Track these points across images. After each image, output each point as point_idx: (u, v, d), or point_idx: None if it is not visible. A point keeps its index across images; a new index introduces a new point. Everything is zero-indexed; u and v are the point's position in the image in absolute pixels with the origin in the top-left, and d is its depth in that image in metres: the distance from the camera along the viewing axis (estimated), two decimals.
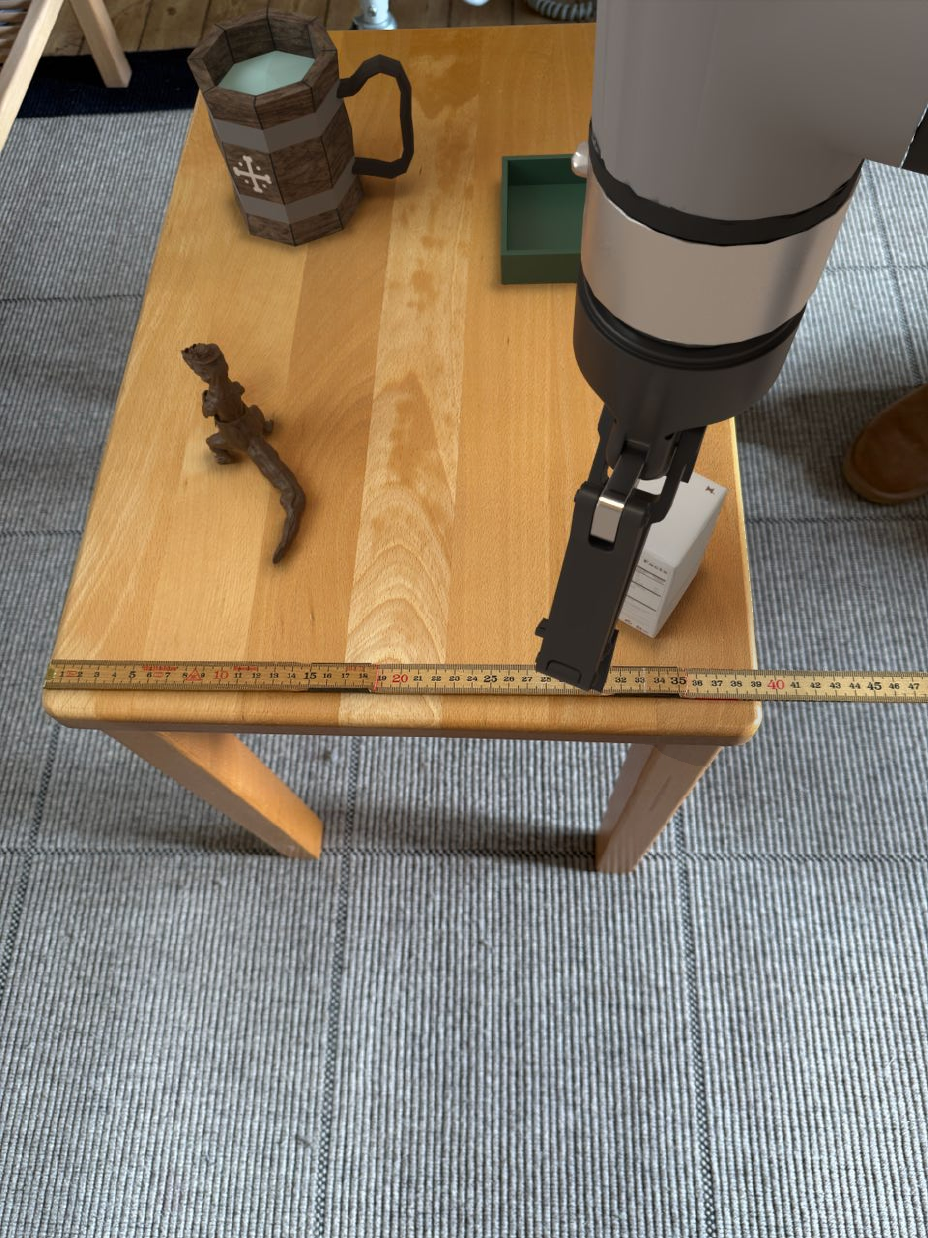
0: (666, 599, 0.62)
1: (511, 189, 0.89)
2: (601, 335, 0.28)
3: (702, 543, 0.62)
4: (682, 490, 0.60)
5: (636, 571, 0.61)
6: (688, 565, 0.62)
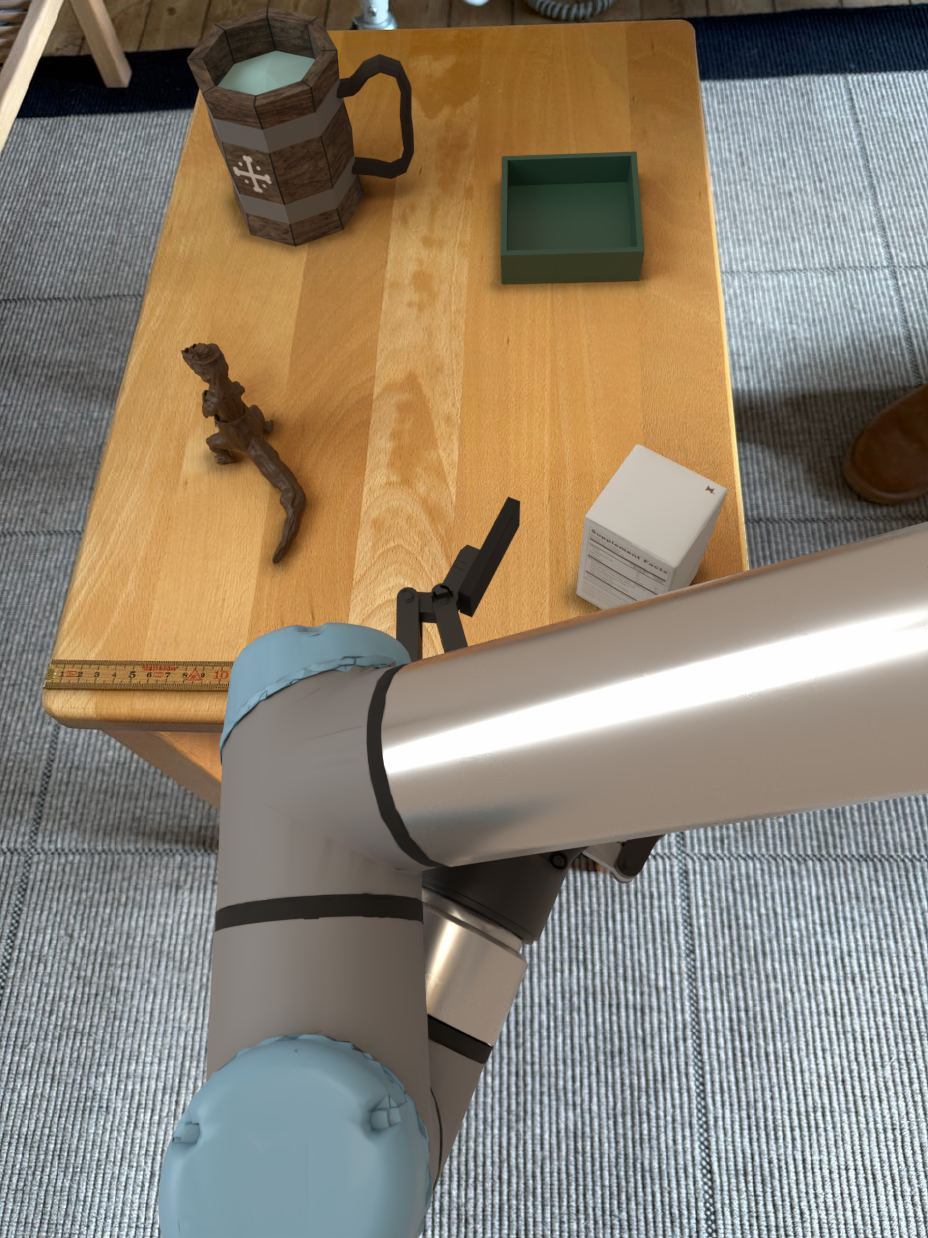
0: None
1: (511, 189, 0.89)
2: None
3: (702, 543, 0.62)
4: (682, 490, 0.60)
5: (636, 571, 0.61)
6: (688, 565, 0.62)
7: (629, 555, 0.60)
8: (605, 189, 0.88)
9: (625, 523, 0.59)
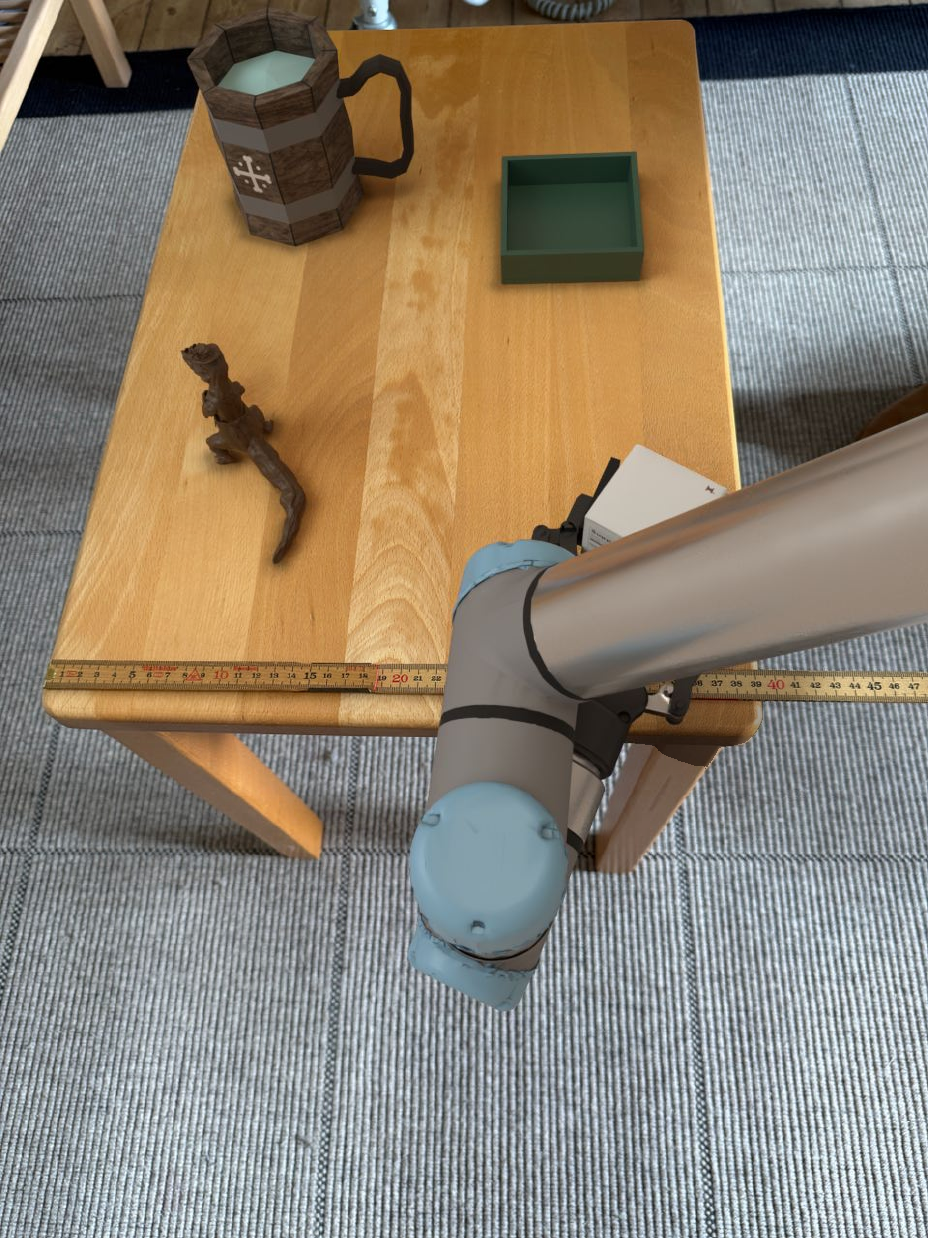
0: None
1: (511, 189, 0.89)
2: None
3: None
4: (682, 489, 0.60)
5: None
6: None
7: None
8: (605, 189, 0.88)
9: (626, 523, 0.59)
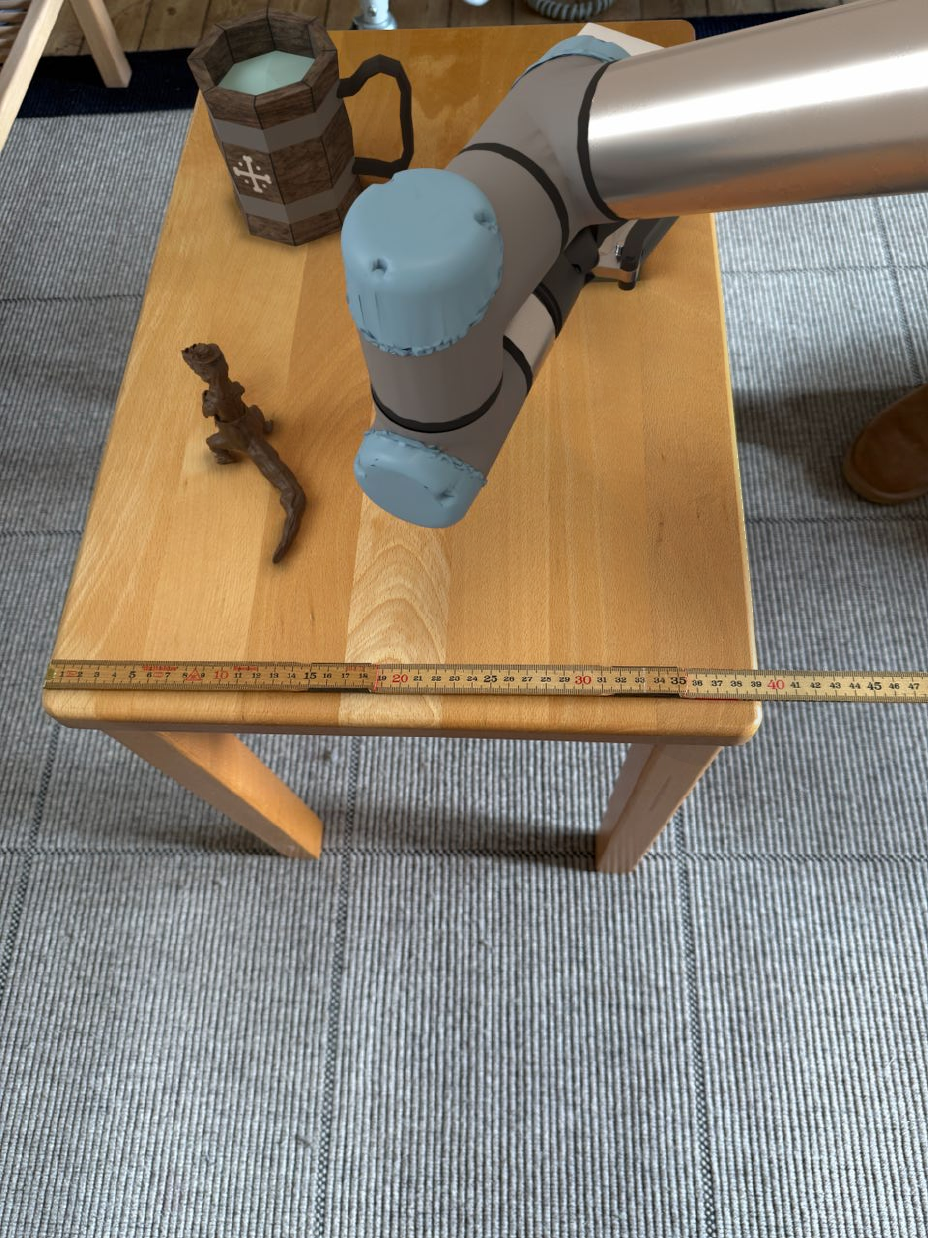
0: None
1: None
2: None
3: None
4: (633, 54, 0.59)
5: None
6: None
7: None
8: None
9: None
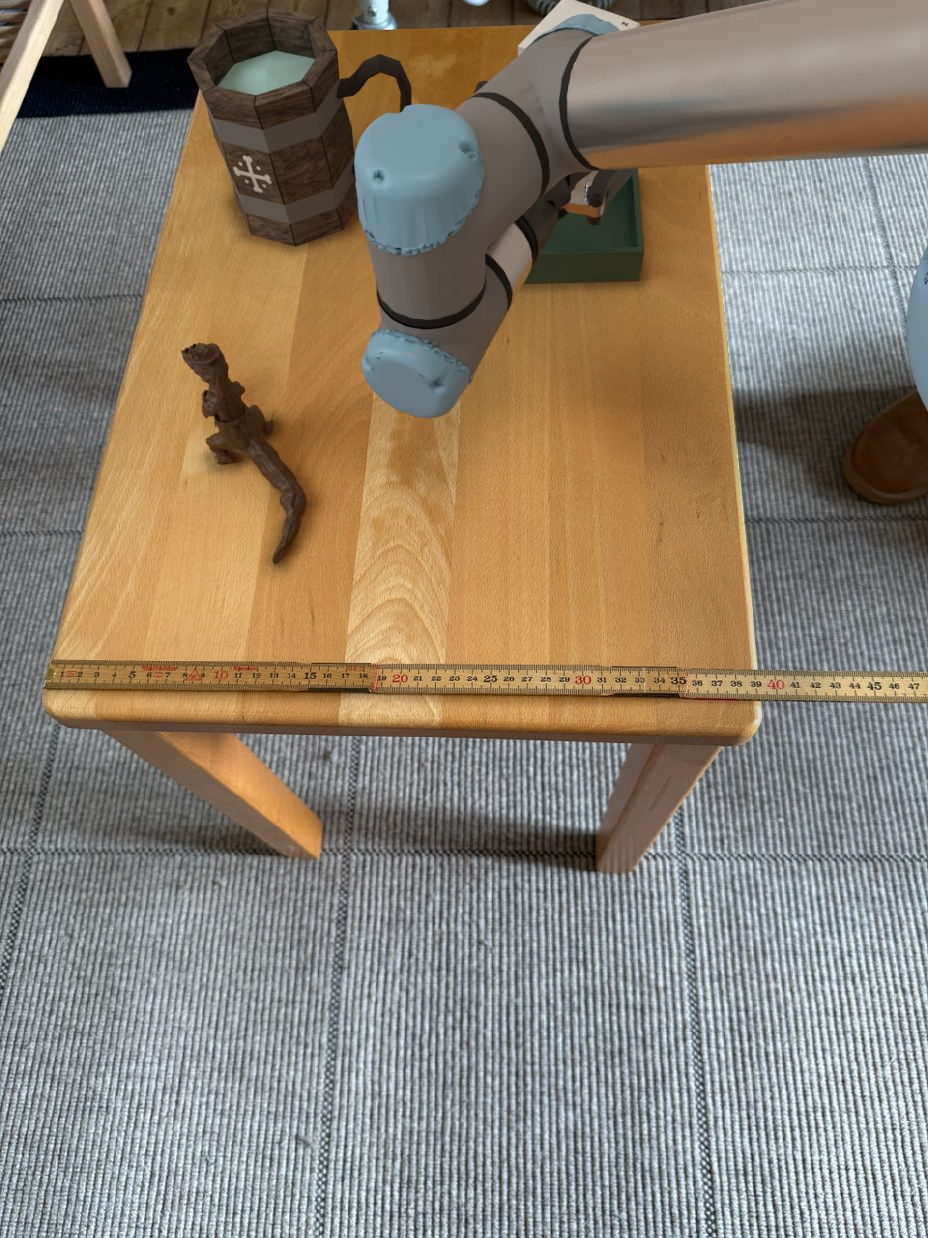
0: None
1: None
2: (531, 266, 0.69)
3: None
4: None
5: None
6: None
7: None
8: None
9: None
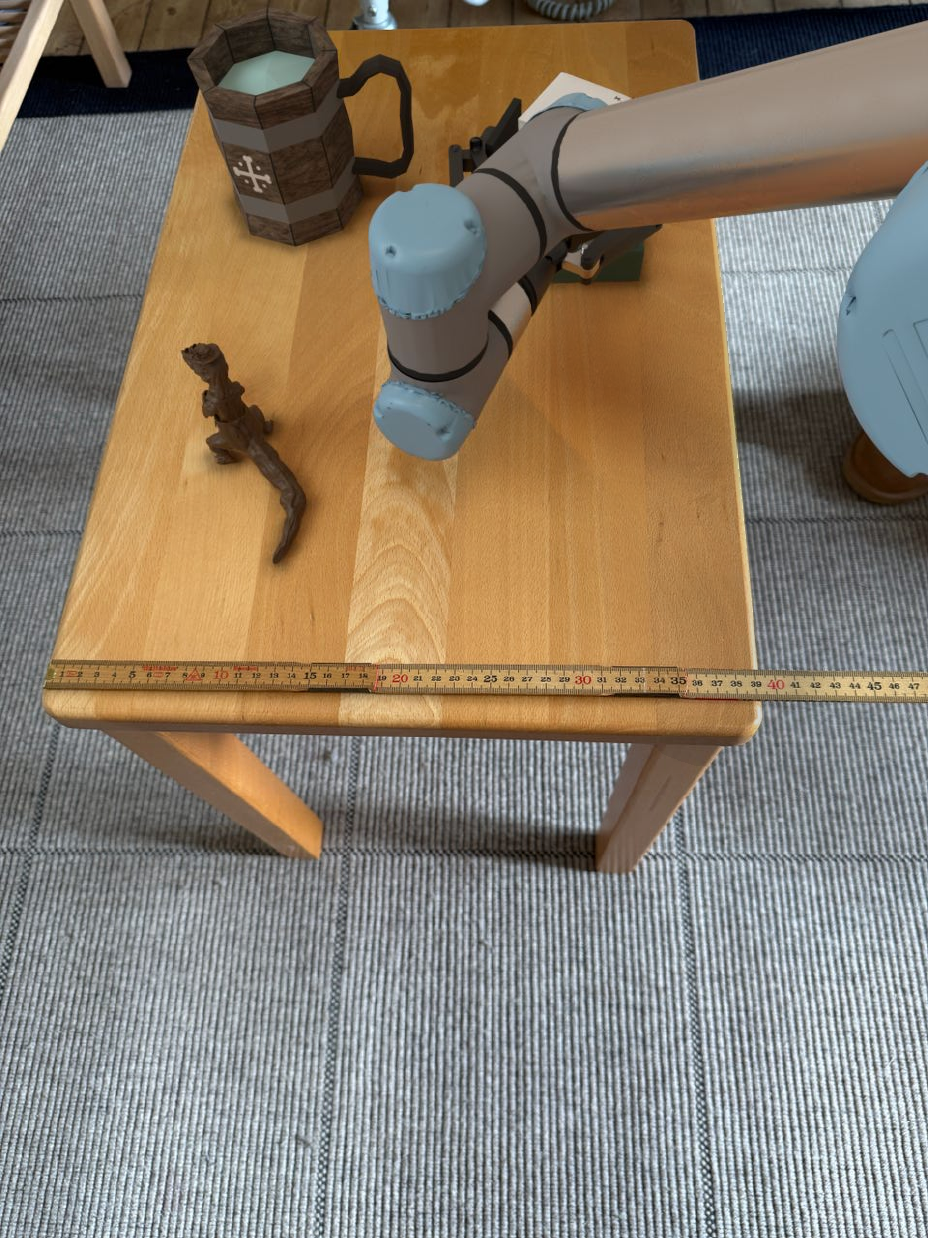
0: None
1: None
2: (531, 316, 0.74)
3: None
4: None
5: None
6: None
7: None
8: None
9: None
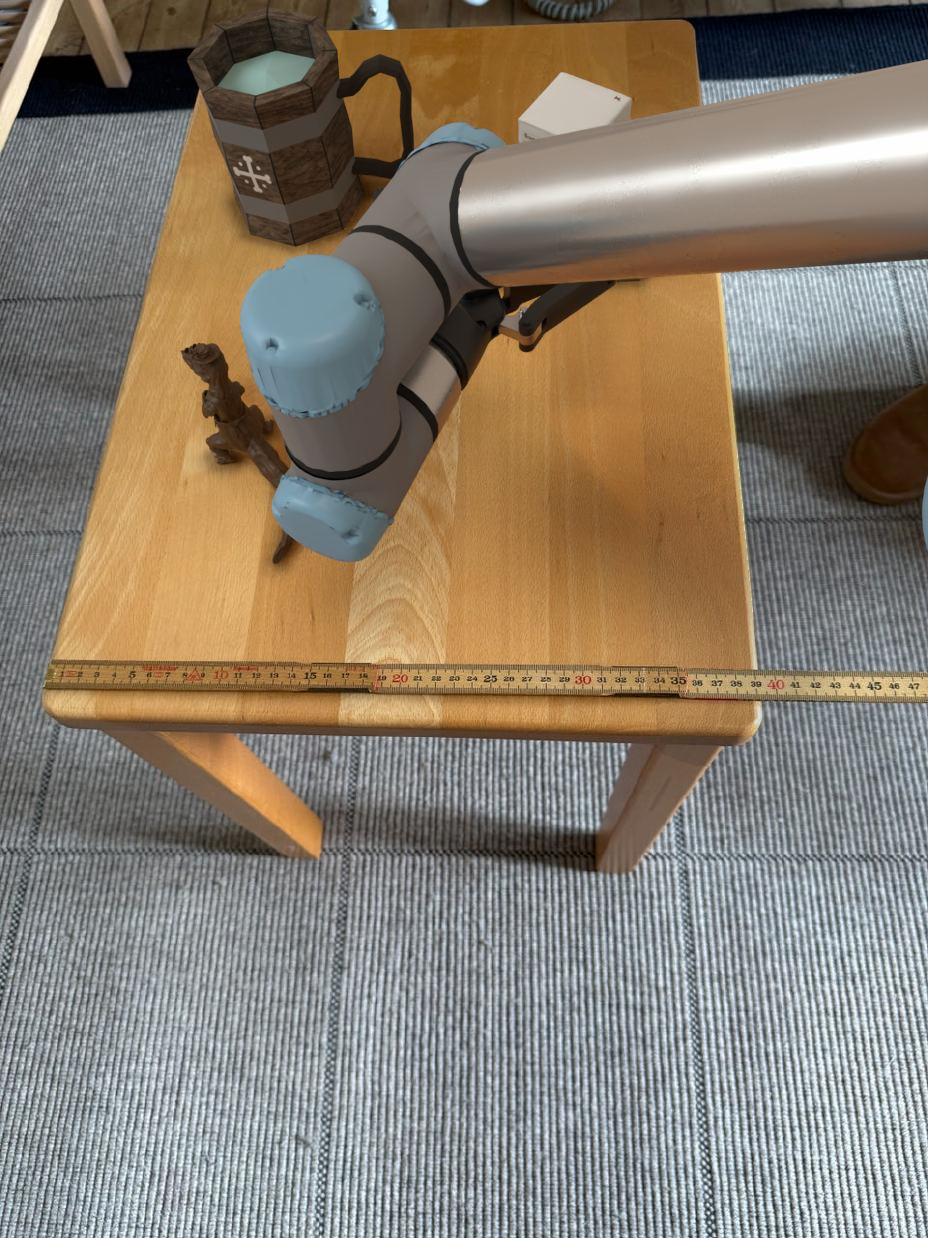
0: None
1: None
2: (463, 389, 0.64)
3: None
4: (596, 98, 0.75)
5: None
6: None
7: None
8: None
9: (550, 121, 0.75)
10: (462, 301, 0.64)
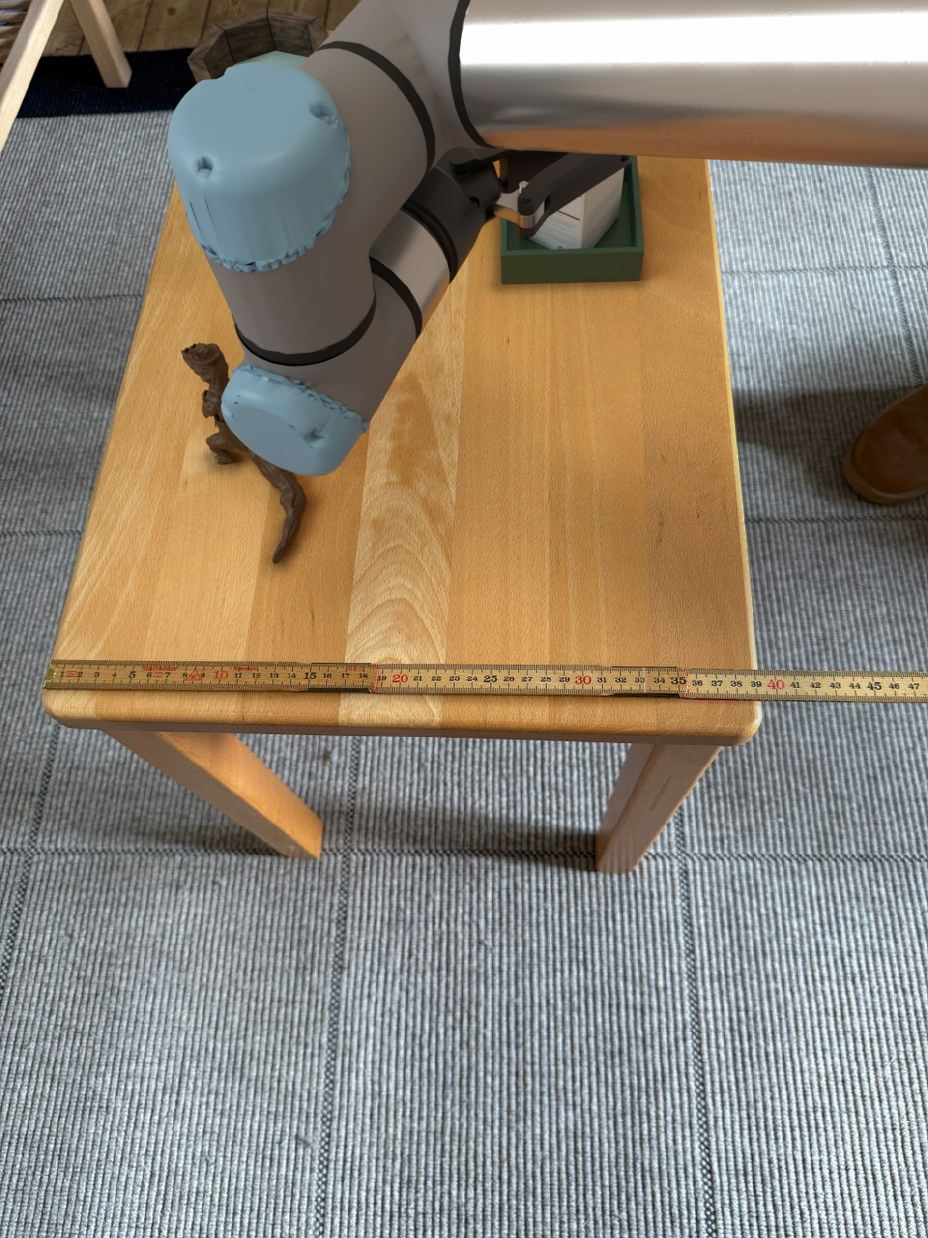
0: (585, 199, 0.78)
1: None
2: (452, 280, 0.55)
3: None
4: None
5: None
6: None
7: None
8: None
9: None
10: (451, 176, 0.54)
